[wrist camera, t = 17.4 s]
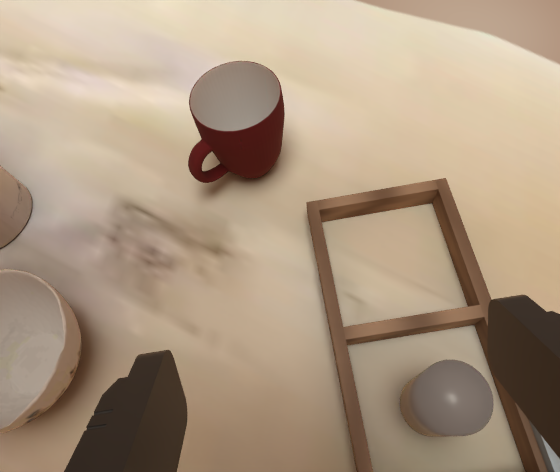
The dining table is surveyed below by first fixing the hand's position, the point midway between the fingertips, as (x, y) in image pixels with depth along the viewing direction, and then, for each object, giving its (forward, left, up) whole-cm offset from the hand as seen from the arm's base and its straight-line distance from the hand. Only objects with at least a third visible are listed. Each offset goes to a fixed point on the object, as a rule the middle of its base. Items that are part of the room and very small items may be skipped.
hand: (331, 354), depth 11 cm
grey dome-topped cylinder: (+8, -1, -26) cm, 27 cm away
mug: (-4, +25, -26) cm, 36 cm away
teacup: (-25, +9, -26) cm, 37 cm away
